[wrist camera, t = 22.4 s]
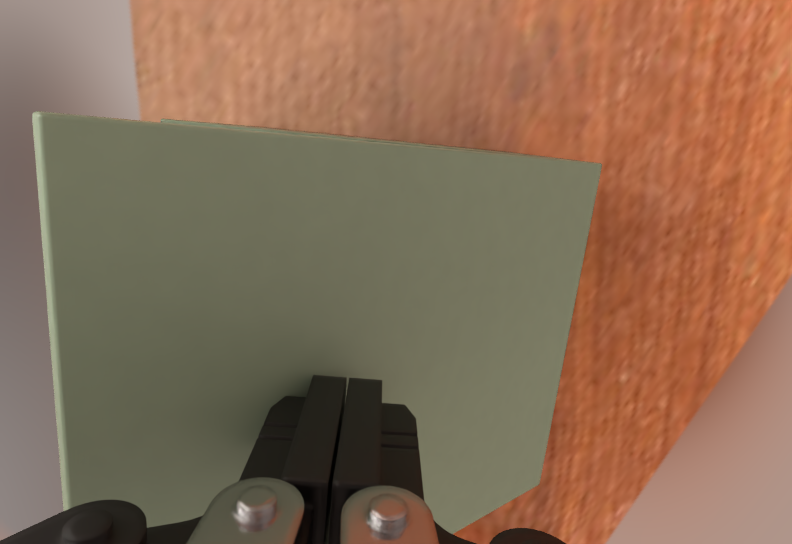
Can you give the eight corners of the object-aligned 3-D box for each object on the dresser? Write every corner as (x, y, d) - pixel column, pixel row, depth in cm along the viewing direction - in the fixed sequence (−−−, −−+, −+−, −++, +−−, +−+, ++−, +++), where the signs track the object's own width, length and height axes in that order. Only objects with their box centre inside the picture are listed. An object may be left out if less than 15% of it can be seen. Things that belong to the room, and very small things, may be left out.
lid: (79, 709, 10) (86, 746, 10) (31, 111, 7) (36, 111, 7) (522, 472, 19) (539, 484, 19) (580, 161, 16) (603, 163, 16)
